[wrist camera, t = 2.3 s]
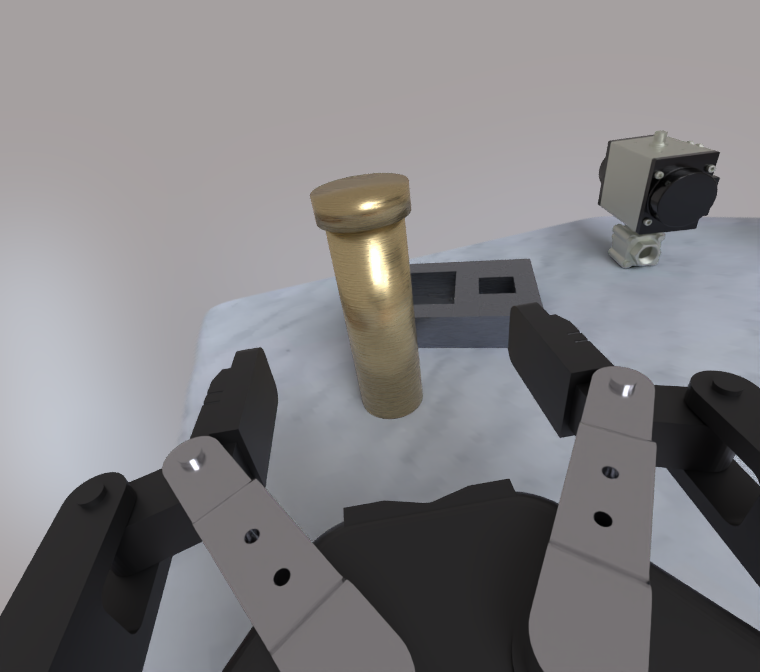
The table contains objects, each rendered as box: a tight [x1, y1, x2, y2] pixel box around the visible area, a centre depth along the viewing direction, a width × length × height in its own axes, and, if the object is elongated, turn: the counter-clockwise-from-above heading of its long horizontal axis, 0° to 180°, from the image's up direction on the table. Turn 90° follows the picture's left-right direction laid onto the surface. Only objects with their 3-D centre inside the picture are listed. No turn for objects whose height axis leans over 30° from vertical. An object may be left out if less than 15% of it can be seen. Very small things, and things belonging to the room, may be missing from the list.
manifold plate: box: [409, 259, 543, 348], centre depth 37 cm, size 14×10×3 cm
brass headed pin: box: [310, 173, 423, 419], centre depth 25 cm, size 5×5×15 cm
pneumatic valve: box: [598, 131, 720, 268], centre depth 38 cm, size 6×12×12 cm, turn 178°
